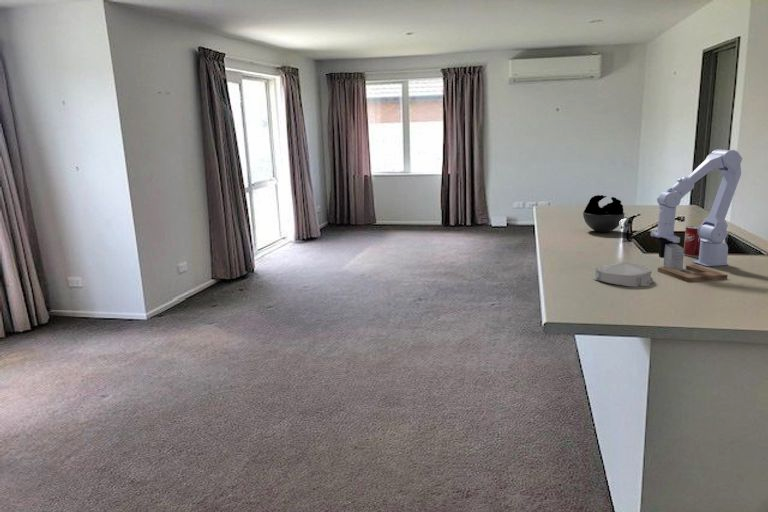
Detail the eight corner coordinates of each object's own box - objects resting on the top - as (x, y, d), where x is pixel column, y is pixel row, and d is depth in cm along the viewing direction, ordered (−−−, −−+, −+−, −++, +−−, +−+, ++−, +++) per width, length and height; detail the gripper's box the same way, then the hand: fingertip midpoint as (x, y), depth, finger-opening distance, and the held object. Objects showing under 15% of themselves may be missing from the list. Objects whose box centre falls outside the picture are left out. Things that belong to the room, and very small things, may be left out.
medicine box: (682, 271, 217) (685, 248, 215) (670, 270, 218) (672, 248, 215) (674, 265, 225) (677, 243, 222) (662, 265, 225) (665, 243, 223)
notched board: (695, 268, 220) (695, 264, 220) (727, 278, 205) (727, 274, 205) (657, 271, 217) (657, 267, 217) (687, 282, 202) (687, 277, 202)
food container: (616, 290, 195) (618, 271, 194) (582, 275, 214) (583, 257, 212) (666, 286, 200) (668, 267, 199) (628, 271, 219) (629, 254, 217)
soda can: (701, 254, 244) (703, 225, 242) (704, 257, 238) (707, 228, 235) (681, 253, 247) (684, 225, 244) (684, 256, 240) (687, 228, 237)
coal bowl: (578, 228, 310) (580, 193, 306) (617, 228, 307) (620, 193, 303) (586, 235, 291) (588, 197, 286) (627, 235, 288) (630, 197, 284)
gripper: (645, 220, 229) (642, 253, 232) (669, 226, 215) (665, 262, 218) (661, 219, 230) (657, 253, 233) (686, 225, 216) (682, 261, 219)
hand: (662, 257), depth 226 cm, fingers closed
